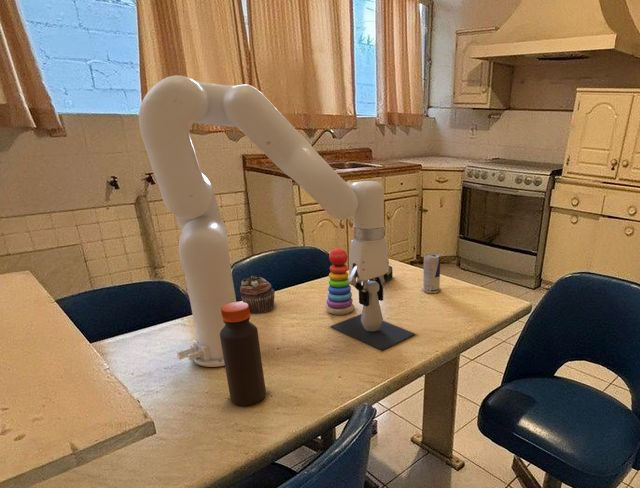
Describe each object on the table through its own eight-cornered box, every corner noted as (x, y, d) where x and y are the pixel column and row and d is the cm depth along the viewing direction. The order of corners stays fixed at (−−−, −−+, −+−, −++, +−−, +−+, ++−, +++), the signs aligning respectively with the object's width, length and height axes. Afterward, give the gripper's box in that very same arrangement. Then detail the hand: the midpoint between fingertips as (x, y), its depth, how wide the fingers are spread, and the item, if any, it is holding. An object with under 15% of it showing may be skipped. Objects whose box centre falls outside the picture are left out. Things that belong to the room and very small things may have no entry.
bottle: (225, 396, 93) (209, 306, 85) (256, 384, 97) (244, 297, 89) (239, 411, 88) (224, 317, 81) (272, 397, 92) (260, 307, 85)
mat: (382, 351, 111) (382, 349, 111) (330, 327, 123) (330, 325, 123) (415, 335, 120) (415, 333, 119) (363, 314, 132) (363, 312, 132)
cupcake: (267, 315, 130) (263, 282, 126) (236, 313, 132) (231, 280, 128) (282, 303, 139) (278, 272, 135) (253, 300, 140) (248, 270, 136)
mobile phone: (386, 264, 161) (365, 275, 148) (394, 265, 160) (373, 276, 147) (386, 277, 162) (365, 289, 150) (394, 278, 161) (373, 291, 148)
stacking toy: (351, 316, 130) (348, 253, 123) (324, 315, 130) (319, 252, 123) (355, 305, 138) (353, 245, 131) (329, 305, 138) (325, 245, 131)
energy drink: (442, 289, 151) (443, 255, 146) (434, 294, 147) (435, 259, 142) (428, 286, 154) (429, 252, 149) (420, 291, 149) (420, 256, 145)
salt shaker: (359, 324, 123) (357, 279, 118) (380, 322, 125) (379, 277, 120) (363, 334, 118) (361, 287, 113) (385, 331, 119) (384, 285, 114)
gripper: (383, 225, 120) (384, 290, 126) (332, 236, 108) (336, 307, 115) (403, 230, 115) (403, 297, 122) (352, 242, 103) (356, 315, 110)
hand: (371, 301), depth 118 cm, fingers closed on salt shaker, 4 cm apart
